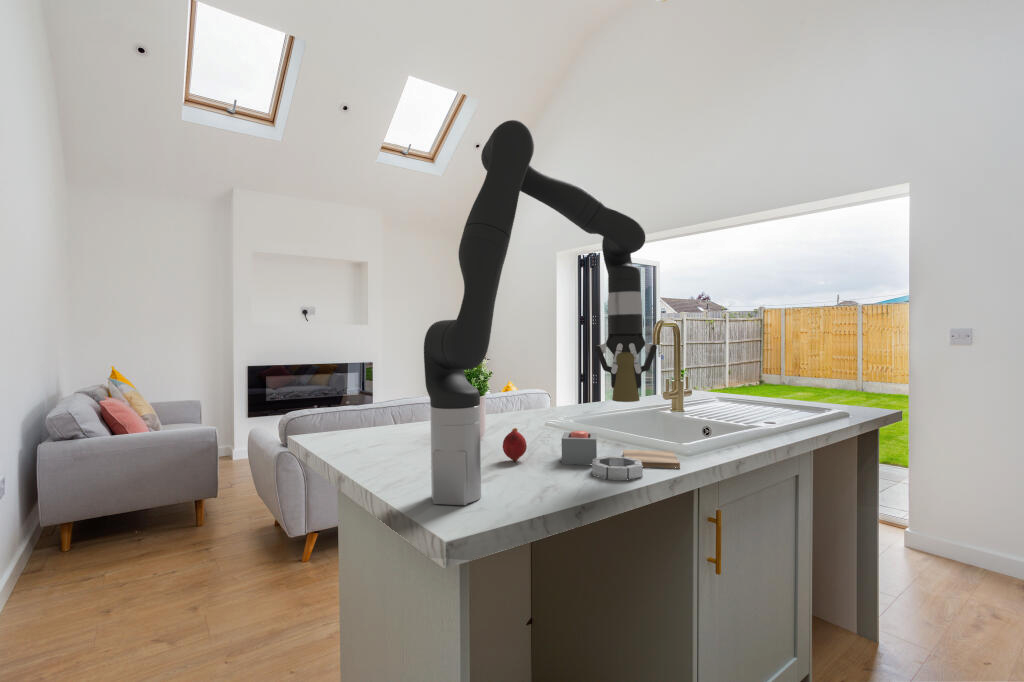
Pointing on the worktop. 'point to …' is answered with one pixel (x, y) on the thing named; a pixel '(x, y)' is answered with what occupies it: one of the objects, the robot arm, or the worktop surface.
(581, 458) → the housing
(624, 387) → the cork
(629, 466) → the seat ring
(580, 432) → the plunger
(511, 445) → the onion
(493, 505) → the worktop surface
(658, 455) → the board
